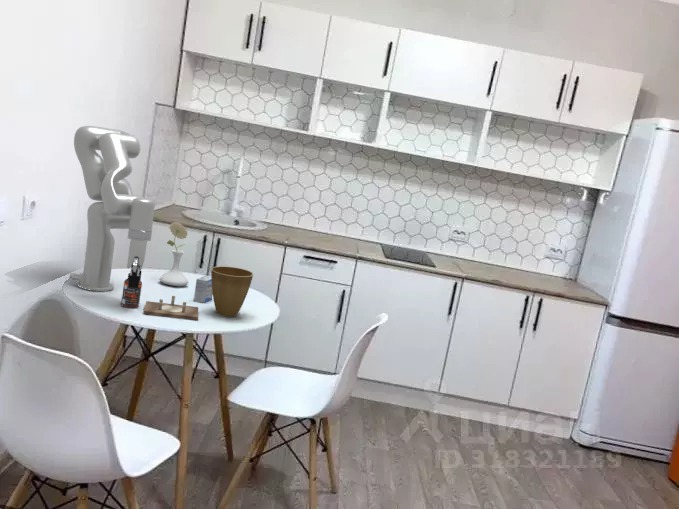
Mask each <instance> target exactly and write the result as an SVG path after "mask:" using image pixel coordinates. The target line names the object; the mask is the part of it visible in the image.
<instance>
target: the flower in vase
mask: <svg viewBox="0 0 679 509" xmlns="http://www.w3.org/2000/svg"><path fill="white" fill-rule="evenodd" d="M168 228H169V230H170V232H171V234H172V235H173V236H174V238H173V241H172V240H170V239H169V240H168V241H167V242H166V244H167V245H168V246H169V245H170V246H171V247H173V246H174V247H175V249H172V250H171V252H172V254H173V265H172V268H170V270H169V271H166V272H164V273H163V274H162V275H161V276H160V277H159V281H160V282H161V283H162V284H165V285H169V286H175V287H181V286H182V287H183V286H186V285H188V284H189V279H188V277H187V276H185V275H184V274H183V272H181V270H180V262H181V258H182V256H183V255H184V254H185V251H184V250H180V249H178V248H181V247H184V244H180V245H178V246H176V238H177V239H179V240H184V239H187V236H188V231H187V228H186V227H185V226H184V225H183V224H182V223H179V222H178V221H177V222H176V221H174V222H171V223H170V225H169V227H168Z"/></svg>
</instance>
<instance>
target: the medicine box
mask: <svg viewBox="0 0 679 509" xmlns="http://www.w3.org/2000/svg"><path fill="white" fill-rule="evenodd" d="M194 289H195V290H194V295H193V296H194V297H193V301H194V302H198V303H202V304H205V303H208V302H209V301H210V300H211V301H212V300H213V292H212V279H211V276H207V275H204V276H201V277H199V278H196V281H195V286H194Z"/></svg>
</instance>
